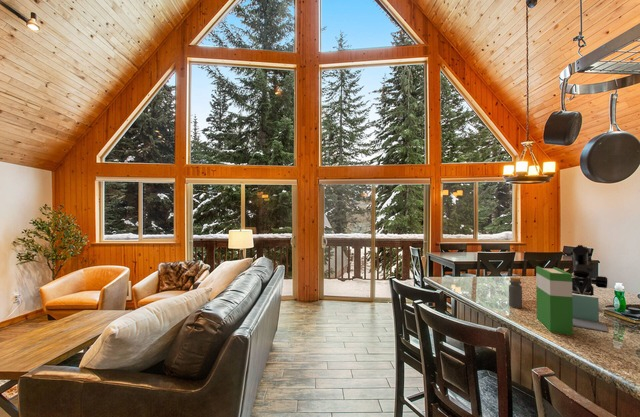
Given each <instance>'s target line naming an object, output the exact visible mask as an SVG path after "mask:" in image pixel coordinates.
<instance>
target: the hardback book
mask: <svg viewBox="0 0 640 417" xmlns="http://www.w3.org/2000/svg"><path fill="white" fill-rule="evenodd" d="M535 270H536V271H535V272H536V274H535V276H536V277H535V279H536V280H535V281H536V283H535V284H536V319H538V320H539V321H540V322H541V323H542V324H543V325H544V326H545V327H546V328H547V329H548V330H549V331H550V332H554V333H553V334H558V333H559V334H560V335H567V334H568V335H569V336H573V335H574V333H573V332H574V330H573V328H574V326H573V308H572V275H573V274H572V273H570V272H568V271H565V270H563V269H560V268H558V267H555V266H553V267H552V268H543V267H541V266H538V265H537V266H536V268H535ZM539 321H538V322H539ZM540 322H539V323H540ZM541 323H540V324H541ZM542 324H541V325H542ZM543 325H542V326H543ZM544 326H543V327H544ZM545 327H544V328H545ZM546 328H545V329H546ZM547 329H546V330H547ZM548 330H547V331H548ZM549 331H548V332H549ZM550 332H549V333H550Z"/></svg>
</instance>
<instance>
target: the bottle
mask: <svg viewBox="0 0 640 417" xmlns="http://www.w3.org/2000/svg"><path fill="white" fill-rule="evenodd" d="M509 283H510V284H509V285H508V306H509V307H511V308H515V309H522V308H523V286H522V285H521V284H522V281H521V277H519V276H510V277H509Z"/></svg>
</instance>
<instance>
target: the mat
mask: <svg viewBox="0 0 640 417" xmlns="http://www.w3.org/2000/svg"><path fill="white" fill-rule="evenodd" d="M573 328H582V329H586V330H592V331H596V332H604V333H608V332H609V331H608V328H607V325H606V323H605V322H600V321H599V322H594V321H588V320H582V319H576V318H573Z"/></svg>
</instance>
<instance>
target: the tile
mask: <svg viewBox="0 0 640 417" xmlns="http://www.w3.org/2000/svg"><path fill="white" fill-rule="evenodd" d="M599 306H600V305H599V296H596V295H592V296H590V295H581V294H574V293H572V308H573V318H576V319H582V320H588V321H594V322H600V321H599V320H600V319H599V318H600V314H599V312H600V310H599V309H600V307H599Z"/></svg>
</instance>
